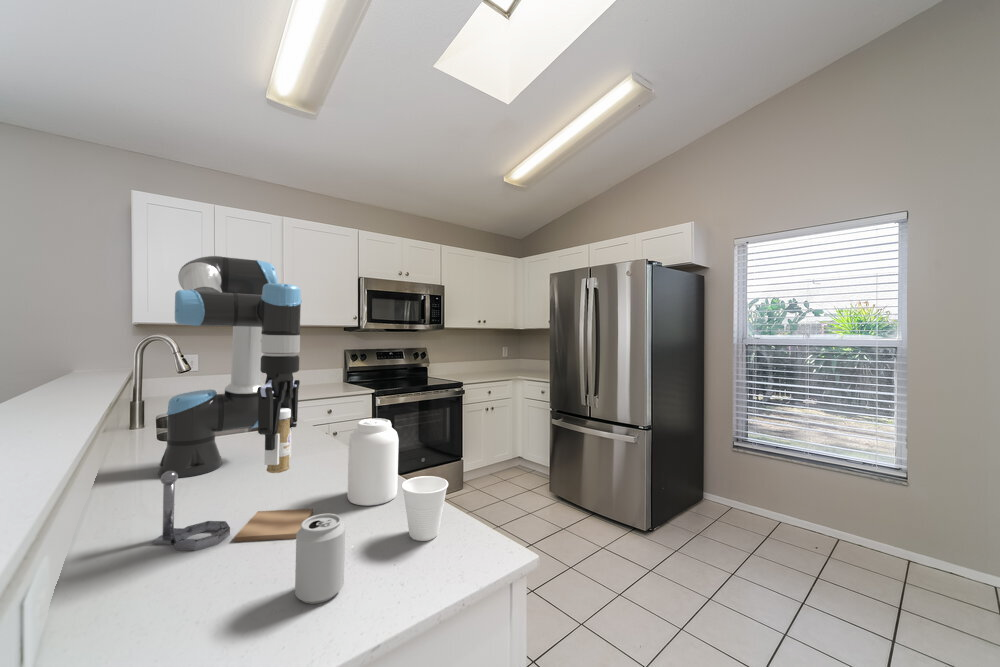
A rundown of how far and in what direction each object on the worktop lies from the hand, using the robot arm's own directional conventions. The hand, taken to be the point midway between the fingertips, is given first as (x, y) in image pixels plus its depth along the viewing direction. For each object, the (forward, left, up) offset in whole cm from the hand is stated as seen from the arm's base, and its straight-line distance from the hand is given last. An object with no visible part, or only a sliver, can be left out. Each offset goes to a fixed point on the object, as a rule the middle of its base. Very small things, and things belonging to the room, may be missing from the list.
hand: (278, 460), depth 90 cm
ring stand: (+6, -14, -15) cm, 21 cm away
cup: (+2, +33, -15) cm, 36 cm away
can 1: (+22, +19, -15) cm, 33 cm away
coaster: (0, 0, -15) cm, 15 cm away
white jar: (-17, +16, -15) cm, 28 cm away
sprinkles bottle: (0, 0, -2) cm, 2 cm away
